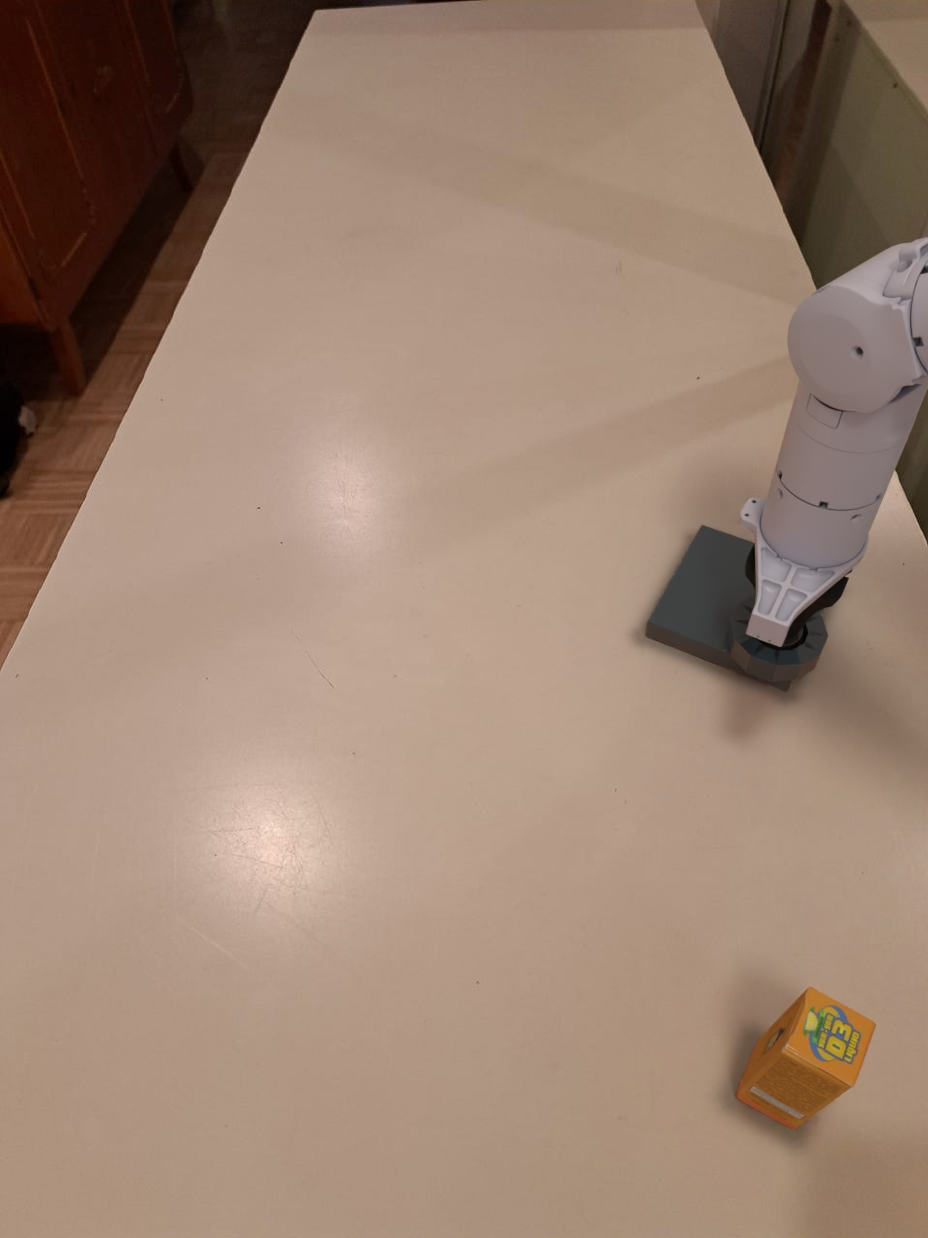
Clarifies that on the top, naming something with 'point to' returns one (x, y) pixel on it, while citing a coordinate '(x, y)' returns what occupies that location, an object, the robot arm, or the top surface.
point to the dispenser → (727, 614)
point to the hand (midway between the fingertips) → (778, 626)
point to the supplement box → (806, 1059)
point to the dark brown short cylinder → (785, 642)
